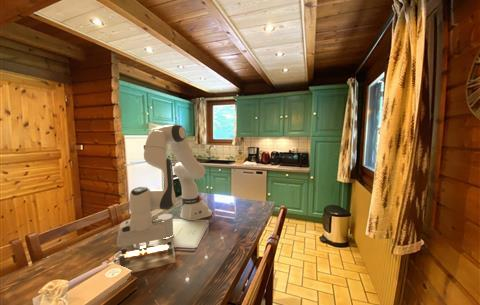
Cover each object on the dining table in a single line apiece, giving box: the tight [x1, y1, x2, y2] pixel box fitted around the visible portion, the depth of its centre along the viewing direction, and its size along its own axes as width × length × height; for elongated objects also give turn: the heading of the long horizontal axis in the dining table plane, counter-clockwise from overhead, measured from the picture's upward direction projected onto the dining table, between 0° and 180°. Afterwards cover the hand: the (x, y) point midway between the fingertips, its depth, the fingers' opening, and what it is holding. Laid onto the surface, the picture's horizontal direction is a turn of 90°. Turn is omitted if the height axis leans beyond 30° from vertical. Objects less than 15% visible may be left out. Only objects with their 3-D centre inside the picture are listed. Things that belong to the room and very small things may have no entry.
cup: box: [157, 213, 174, 238], centre depth 115 cm, size 8×8×12 cm
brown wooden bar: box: [120, 244, 171, 260], centre depth 93 cm, size 22×4×2 cm, turn 113°
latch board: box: [117, 239, 176, 274], centre depth 93 cm, size 24×12×7 cm, turn 113°
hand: (143, 250), depth 92 cm, fingers closed
